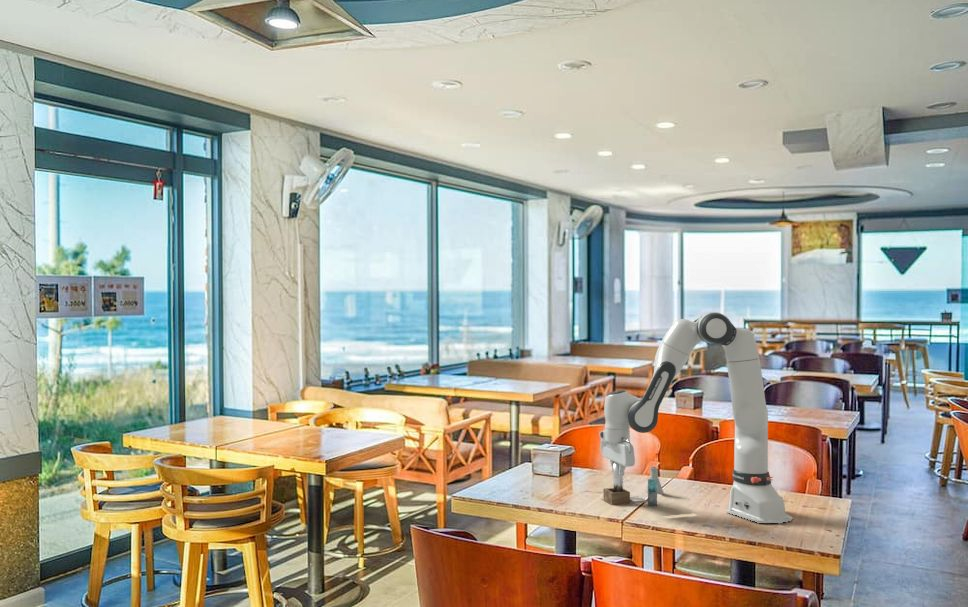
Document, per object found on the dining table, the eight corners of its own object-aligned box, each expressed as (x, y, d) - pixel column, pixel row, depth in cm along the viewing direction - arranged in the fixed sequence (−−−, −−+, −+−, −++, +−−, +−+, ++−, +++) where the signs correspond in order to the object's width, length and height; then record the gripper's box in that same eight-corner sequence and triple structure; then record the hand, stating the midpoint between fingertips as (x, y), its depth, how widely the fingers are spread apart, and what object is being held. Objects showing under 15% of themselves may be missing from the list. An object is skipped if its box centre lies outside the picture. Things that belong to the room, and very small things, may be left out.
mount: (649, 504, 271) (649, 490, 271) (611, 508, 267) (611, 494, 267) (638, 499, 279) (638, 485, 279) (601, 502, 275) (601, 488, 275)
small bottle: (658, 508, 266) (658, 480, 266) (650, 509, 265) (650, 481, 265) (654, 506, 269) (654, 478, 269) (646, 507, 268) (646, 479, 268)
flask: (662, 491, 290) (662, 465, 289) (665, 496, 282) (665, 470, 282) (643, 491, 290) (643, 465, 290) (645, 496, 283) (645, 469, 283)
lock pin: (624, 494, 271) (624, 464, 271) (616, 495, 270) (615, 464, 270) (620, 492, 274) (619, 462, 274) (612, 493, 273) (611, 462, 273)
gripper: (638, 440, 263) (639, 479, 263) (612, 430, 282) (613, 467, 282) (622, 441, 261) (623, 481, 261) (597, 431, 280) (598, 469, 280)
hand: (618, 474), depth 272 cm, fingers closed on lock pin, 3 cm apart
